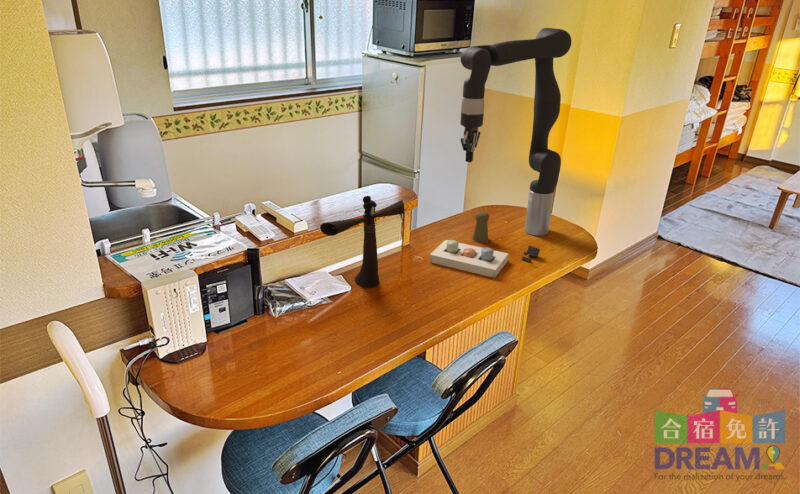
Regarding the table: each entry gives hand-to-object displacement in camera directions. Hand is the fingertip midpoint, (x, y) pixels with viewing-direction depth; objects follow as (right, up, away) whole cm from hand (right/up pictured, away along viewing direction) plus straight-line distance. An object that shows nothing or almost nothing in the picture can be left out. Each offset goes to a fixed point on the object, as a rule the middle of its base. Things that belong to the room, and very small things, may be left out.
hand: (469, 161), depth 190 cm
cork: (+7, -27, +21) cm, 35 cm away
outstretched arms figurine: (-35, -41, -10) cm, 55 cm away
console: (0, -35, +4) cm, 35 cm away
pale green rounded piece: (-5, -32, +6) cm, 33 cm away
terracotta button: (0, -35, +4) cm, 35 cm away
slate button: (+6, -34, 0) cm, 35 cm away
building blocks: (+23, -34, +7) cm, 41 cm away
